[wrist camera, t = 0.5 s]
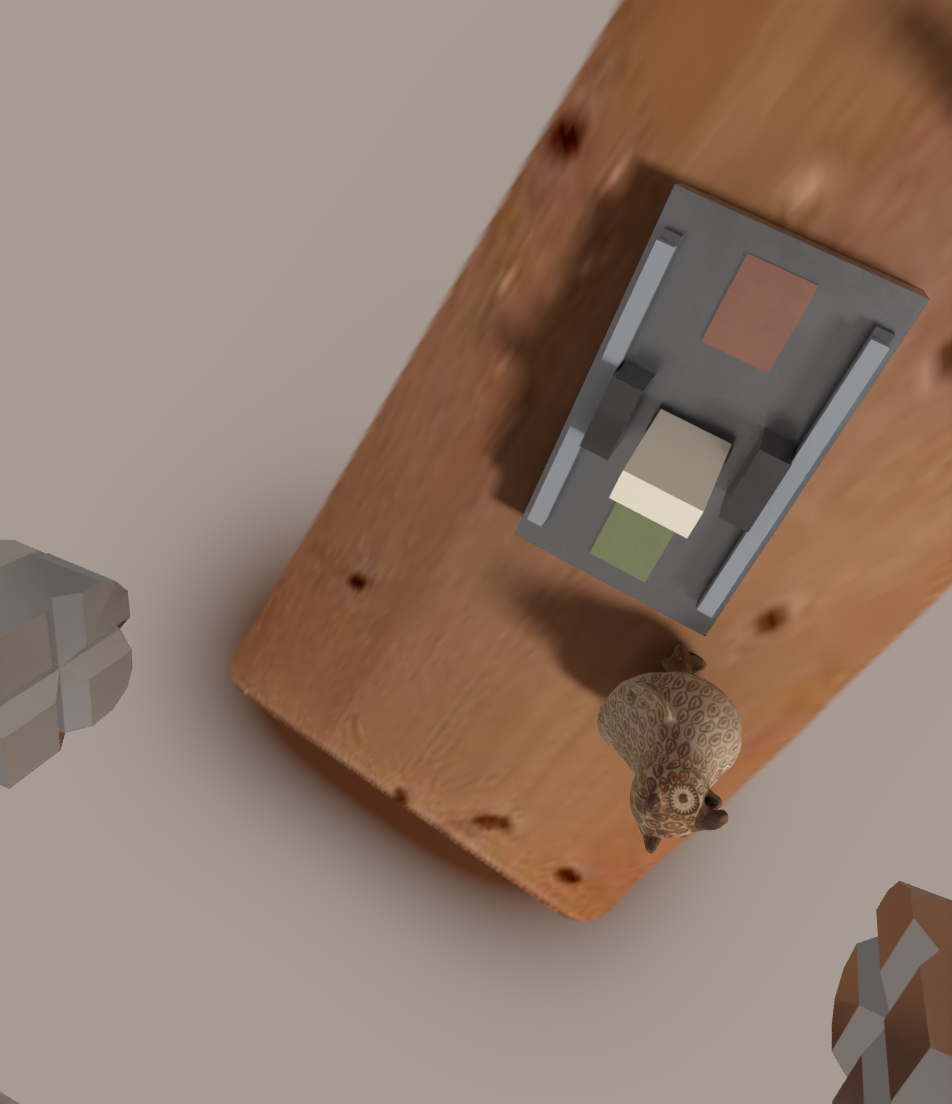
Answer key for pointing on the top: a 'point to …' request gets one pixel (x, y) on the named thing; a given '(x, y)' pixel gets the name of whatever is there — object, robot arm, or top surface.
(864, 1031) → the robot arm
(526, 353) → the top surface
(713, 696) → the figurine
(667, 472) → the lever
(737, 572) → the pair of grey bars
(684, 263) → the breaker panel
